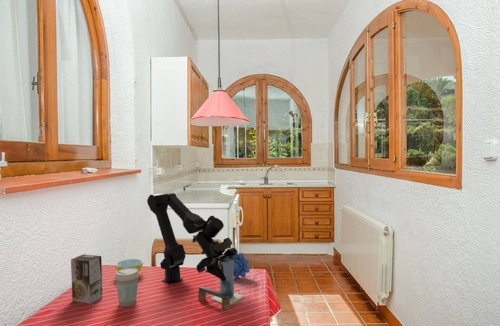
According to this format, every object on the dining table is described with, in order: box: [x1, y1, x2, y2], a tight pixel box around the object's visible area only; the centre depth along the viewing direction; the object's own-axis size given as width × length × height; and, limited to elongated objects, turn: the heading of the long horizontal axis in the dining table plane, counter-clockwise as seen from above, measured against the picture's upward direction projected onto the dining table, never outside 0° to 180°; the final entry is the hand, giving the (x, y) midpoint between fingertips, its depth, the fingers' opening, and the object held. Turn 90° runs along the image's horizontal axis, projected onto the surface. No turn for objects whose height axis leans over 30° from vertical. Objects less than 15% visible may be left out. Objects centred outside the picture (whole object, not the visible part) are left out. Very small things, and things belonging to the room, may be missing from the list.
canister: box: [219, 259, 235, 297], centre depth 124 cm, size 5×5×13 cm
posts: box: [197, 289, 231, 311], centre depth 120 cm, size 14×2×4 cm, turn 52°
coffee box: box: [70, 254, 103, 304], centre depth 125 cm, size 9×6×16 cm
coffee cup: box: [114, 268, 140, 308], centre depth 121 cm, size 8×8×12 cm
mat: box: [210, 292, 245, 306], centre depth 124 cm, size 9×9×1 cm
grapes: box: [232, 252, 251, 278], centre depth 144 cm, size 12×7×12 cm, turn 79°
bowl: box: [115, 258, 144, 273], centre depth 148 cm, size 11×12×6 cm
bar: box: [198, 285, 229, 300], centre depth 120 cm, size 14×1×1 cm, turn 52°
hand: (229, 278), depth 124 cm, fingers closed on canister, 5 cm apart
